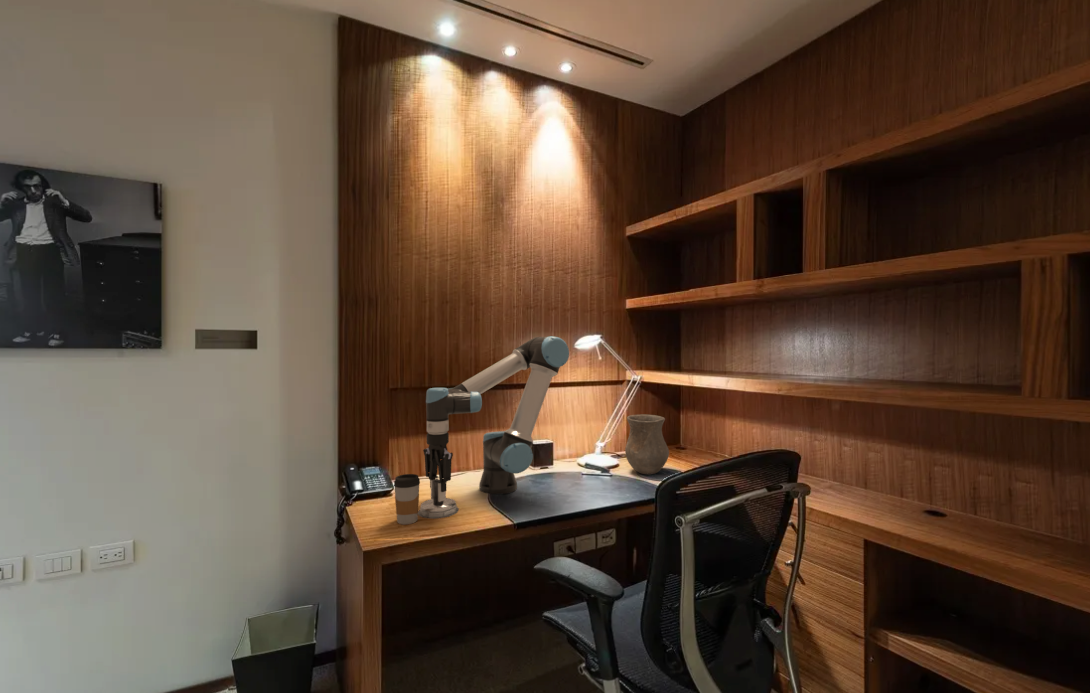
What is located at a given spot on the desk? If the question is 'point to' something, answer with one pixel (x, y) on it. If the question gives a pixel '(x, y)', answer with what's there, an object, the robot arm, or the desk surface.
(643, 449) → the vase
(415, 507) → the coffee cup
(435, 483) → the lid
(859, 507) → the desk surface
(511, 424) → the robot arm
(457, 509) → the disc
